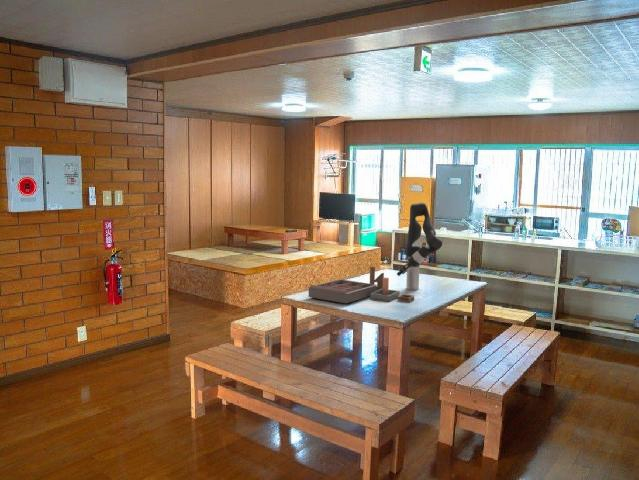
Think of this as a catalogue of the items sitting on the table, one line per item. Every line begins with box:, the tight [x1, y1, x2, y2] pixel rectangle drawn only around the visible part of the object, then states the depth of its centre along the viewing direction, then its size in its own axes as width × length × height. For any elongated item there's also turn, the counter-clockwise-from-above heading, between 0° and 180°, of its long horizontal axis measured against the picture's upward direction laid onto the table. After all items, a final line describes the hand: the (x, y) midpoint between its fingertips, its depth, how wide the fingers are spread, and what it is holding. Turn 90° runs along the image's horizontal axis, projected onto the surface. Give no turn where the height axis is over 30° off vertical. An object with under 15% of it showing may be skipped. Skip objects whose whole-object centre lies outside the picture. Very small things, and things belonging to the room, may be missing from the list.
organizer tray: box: [307, 279, 377, 304], centre depth 367 cm, size 32×40×10 cm
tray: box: [369, 289, 401, 303], centre depth 367 cm, size 20×14×4 cm
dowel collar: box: [397, 293, 415, 303], centre depth 360 cm, size 9×9×3 cm
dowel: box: [382, 276, 390, 295], centre depth 367 cm, size 4×4×13 cm
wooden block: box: [369, 265, 385, 291], centre depth 389 cm, size 4×11×18 cm, turn 54°
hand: (399, 274), depth 361 cm, fingers open, 8 cm apart
